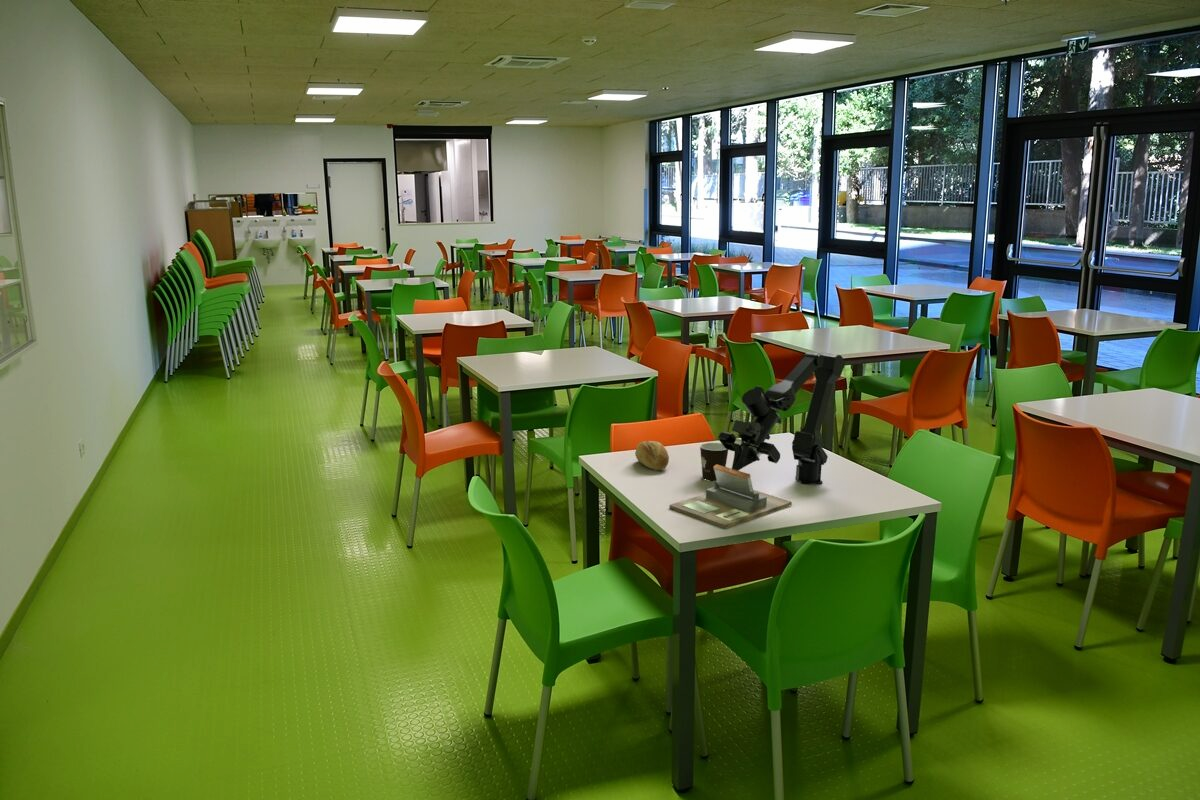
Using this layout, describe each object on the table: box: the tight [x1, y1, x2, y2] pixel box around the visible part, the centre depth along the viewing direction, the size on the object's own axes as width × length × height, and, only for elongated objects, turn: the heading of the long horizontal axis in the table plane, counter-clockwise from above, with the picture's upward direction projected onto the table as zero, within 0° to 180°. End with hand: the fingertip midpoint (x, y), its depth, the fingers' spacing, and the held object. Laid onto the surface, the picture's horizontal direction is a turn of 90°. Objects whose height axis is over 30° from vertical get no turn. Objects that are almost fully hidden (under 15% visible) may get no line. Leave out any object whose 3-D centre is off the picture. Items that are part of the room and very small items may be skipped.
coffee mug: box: [699, 442, 729, 482], centre depth 265 cm, size 12×9×10 cm
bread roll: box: [634, 440, 670, 471], centre depth 276 cm, size 10×15×8 cm, turn 20°
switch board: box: [668, 481, 793, 529], centre depth 239 cm, size 28×20×5 cm
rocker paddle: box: [714, 464, 754, 498], centre depth 239 cm, size 1×13×7 cm, turn 40°
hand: (733, 471), depth 238 cm, fingers closed, pressing on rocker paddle
